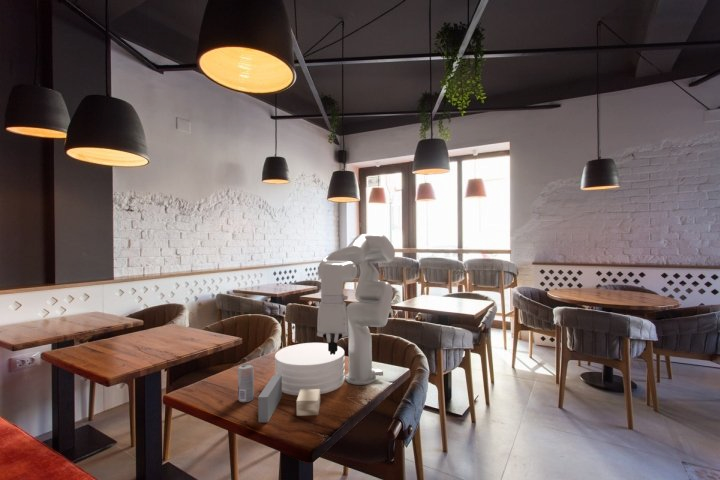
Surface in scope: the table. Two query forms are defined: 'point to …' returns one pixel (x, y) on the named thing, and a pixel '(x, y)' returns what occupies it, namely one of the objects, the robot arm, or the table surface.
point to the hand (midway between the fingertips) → (332, 353)
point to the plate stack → (310, 368)
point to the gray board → (269, 398)
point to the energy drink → (245, 383)
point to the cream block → (308, 402)
